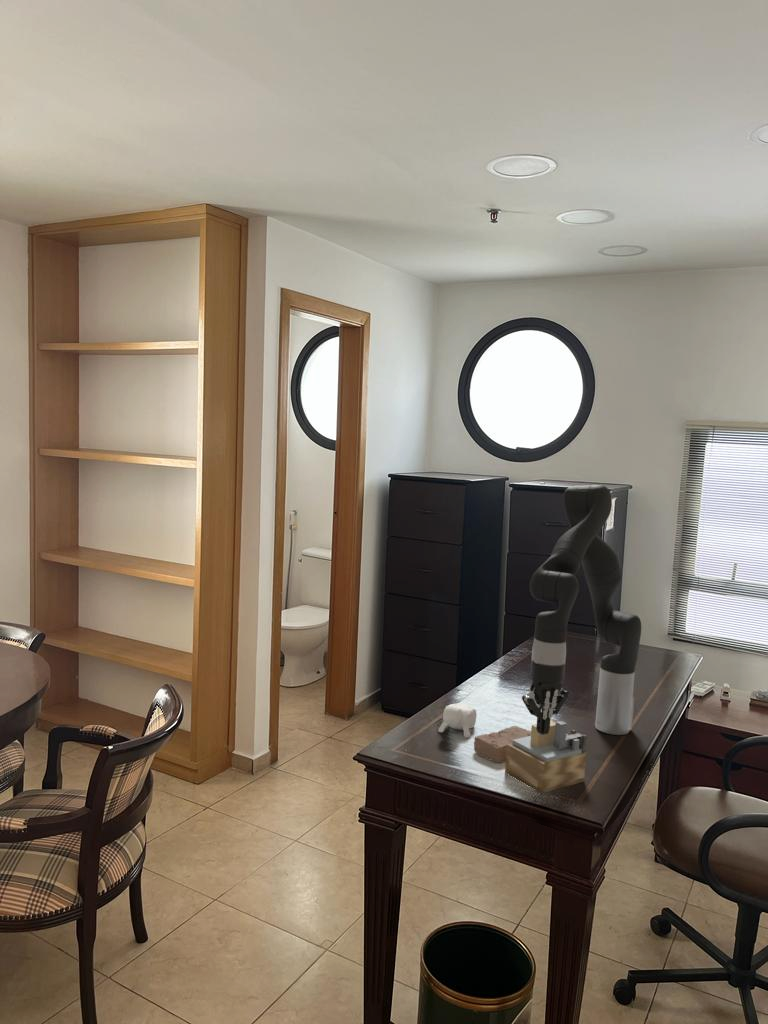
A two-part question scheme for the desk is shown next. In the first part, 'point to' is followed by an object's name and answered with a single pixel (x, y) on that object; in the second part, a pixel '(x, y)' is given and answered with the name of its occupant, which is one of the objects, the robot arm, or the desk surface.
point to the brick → (498, 743)
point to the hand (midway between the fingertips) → (542, 733)
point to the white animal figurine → (459, 718)
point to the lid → (546, 745)
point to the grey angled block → (564, 736)
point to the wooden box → (546, 768)
